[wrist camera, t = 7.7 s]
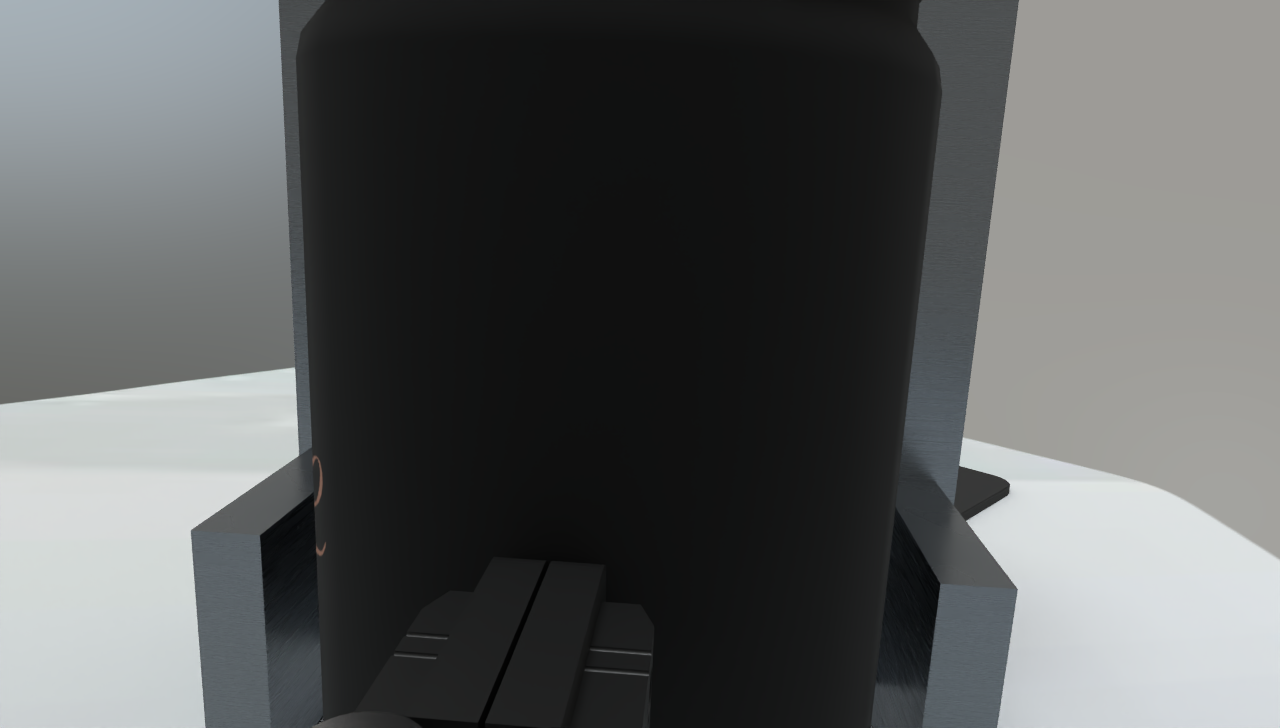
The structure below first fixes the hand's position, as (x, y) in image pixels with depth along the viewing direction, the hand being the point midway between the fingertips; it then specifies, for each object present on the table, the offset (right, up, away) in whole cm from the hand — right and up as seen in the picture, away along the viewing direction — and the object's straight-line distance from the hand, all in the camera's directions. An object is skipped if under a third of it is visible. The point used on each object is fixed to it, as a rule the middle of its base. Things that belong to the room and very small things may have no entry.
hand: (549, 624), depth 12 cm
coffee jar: (0, -7, +7) cm, 10 cm away
